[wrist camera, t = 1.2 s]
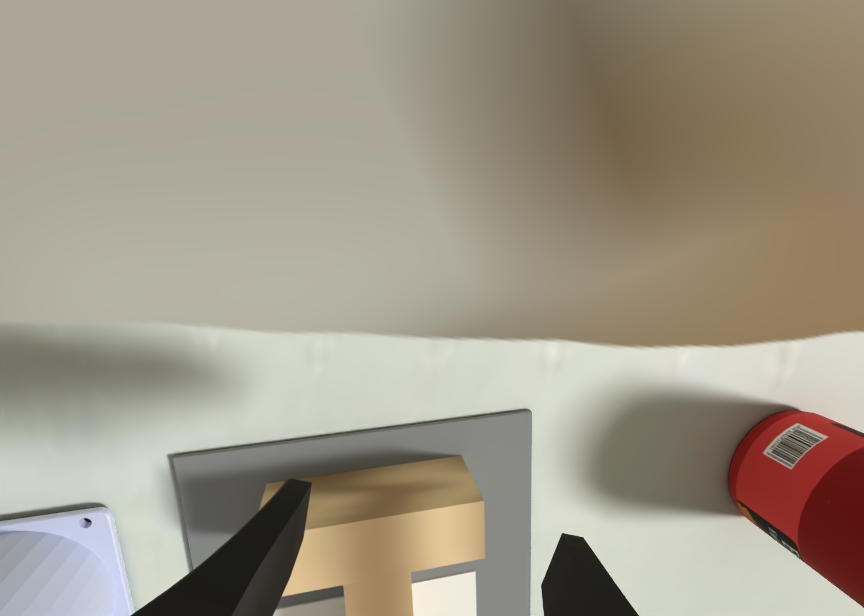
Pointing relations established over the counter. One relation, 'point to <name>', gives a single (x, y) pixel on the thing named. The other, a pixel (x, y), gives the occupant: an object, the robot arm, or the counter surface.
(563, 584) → the robot arm
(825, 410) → the counter surface
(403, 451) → the mat
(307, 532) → the oak T-block
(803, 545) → the canned food
